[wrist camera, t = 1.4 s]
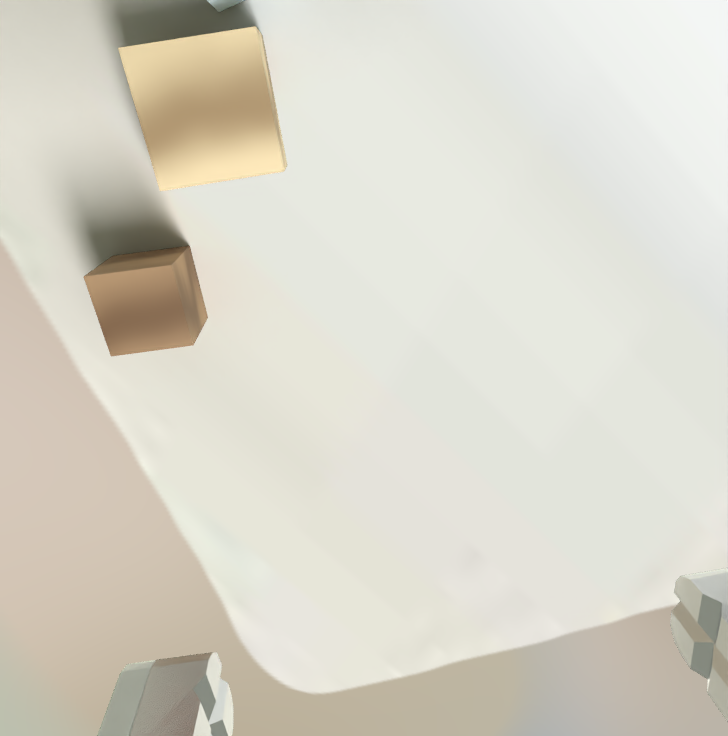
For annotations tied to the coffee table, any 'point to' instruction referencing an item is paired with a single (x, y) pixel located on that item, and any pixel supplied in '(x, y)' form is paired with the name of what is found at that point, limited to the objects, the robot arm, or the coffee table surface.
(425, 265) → the coffee table surface
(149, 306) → the walnut block
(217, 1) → the grey-blue block
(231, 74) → the oak base block
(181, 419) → the coffee table surface
